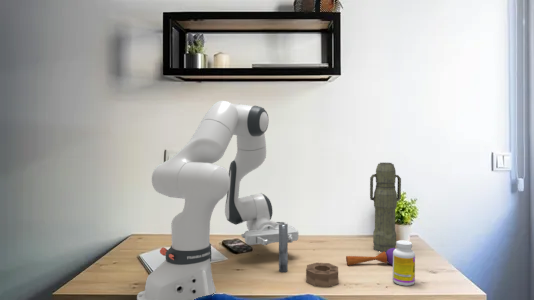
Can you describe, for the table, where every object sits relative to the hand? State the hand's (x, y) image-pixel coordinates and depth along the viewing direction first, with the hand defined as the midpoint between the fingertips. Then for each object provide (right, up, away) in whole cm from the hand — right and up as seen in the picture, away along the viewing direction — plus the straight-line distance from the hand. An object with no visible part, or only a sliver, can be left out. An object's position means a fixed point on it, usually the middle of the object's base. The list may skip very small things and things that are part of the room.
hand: (278, 241), depth 136 cm
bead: (+14, -9, -12) cm, 21 cm away
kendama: (+35, -9, +2) cm, 36 cm away
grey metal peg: (+2, -9, -4) cm, 10 cm away
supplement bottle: (+39, -10, -14) cm, 43 cm away
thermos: (+44, -8, +20) cm, 49 cm away
